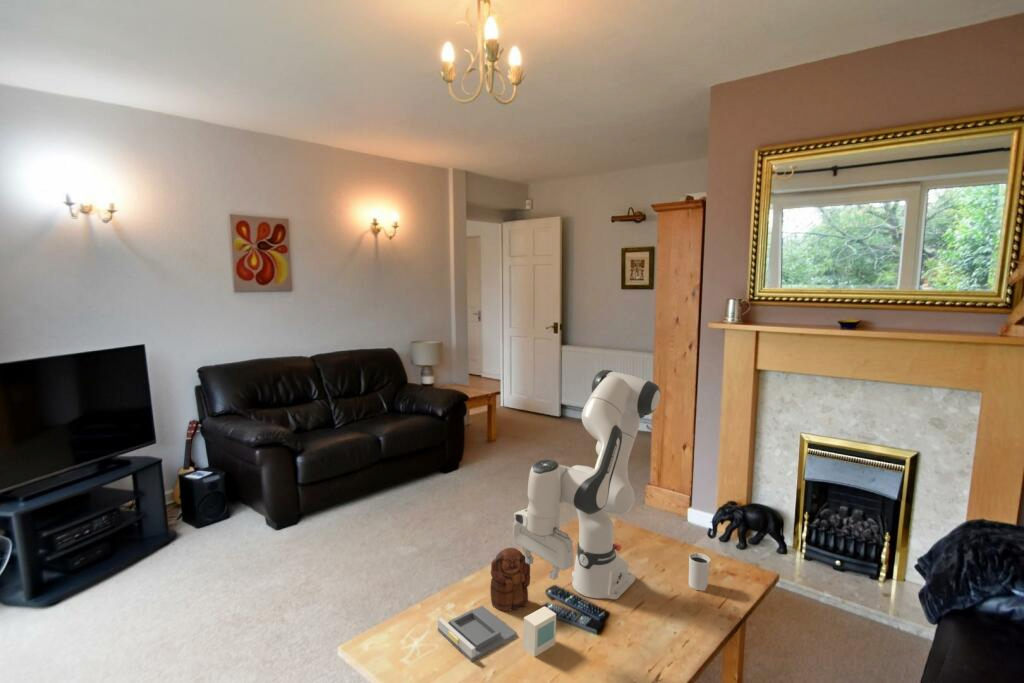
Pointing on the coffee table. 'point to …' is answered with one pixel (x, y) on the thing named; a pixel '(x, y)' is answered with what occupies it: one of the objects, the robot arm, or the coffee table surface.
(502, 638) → the display base
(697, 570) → the white cup
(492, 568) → the wooden figurine
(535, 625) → the product carton
